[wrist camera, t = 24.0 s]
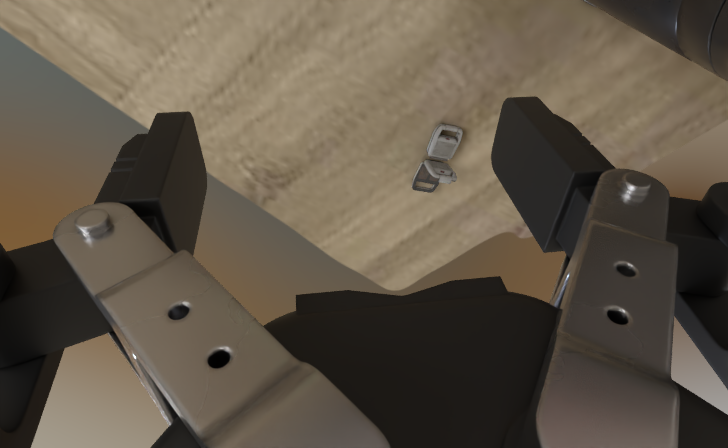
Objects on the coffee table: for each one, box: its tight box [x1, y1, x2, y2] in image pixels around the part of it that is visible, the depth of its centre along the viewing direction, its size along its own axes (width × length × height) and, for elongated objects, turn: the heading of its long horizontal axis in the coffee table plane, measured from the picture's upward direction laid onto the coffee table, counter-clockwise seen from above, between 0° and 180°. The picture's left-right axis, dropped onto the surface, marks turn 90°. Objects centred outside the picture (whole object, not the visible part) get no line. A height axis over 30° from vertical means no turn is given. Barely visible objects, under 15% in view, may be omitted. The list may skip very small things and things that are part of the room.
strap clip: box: [412, 124, 463, 193], centre depth 49 cm, size 8×3×4 cm, turn 163°
